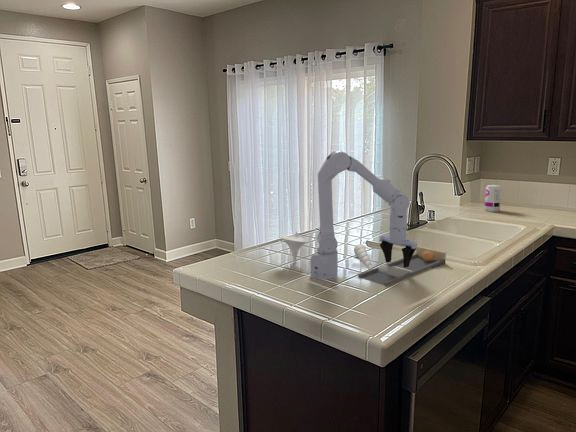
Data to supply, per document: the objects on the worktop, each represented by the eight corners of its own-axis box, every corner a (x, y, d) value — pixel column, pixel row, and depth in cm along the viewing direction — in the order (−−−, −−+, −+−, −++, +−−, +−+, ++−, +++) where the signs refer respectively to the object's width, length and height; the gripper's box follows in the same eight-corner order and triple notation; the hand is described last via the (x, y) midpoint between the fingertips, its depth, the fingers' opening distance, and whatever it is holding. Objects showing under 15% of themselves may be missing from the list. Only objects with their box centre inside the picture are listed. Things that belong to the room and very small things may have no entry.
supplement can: (485, 211, 256) (487, 186, 253) (483, 209, 264) (485, 184, 261) (500, 212, 254) (502, 186, 251) (498, 209, 262) (500, 184, 259)
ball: (436, 252, 165) (434, 260, 168) (426, 247, 168) (425, 255, 170) (430, 257, 163) (428, 265, 165) (420, 252, 166) (419, 260, 168)
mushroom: (295, 256, 180) (294, 227, 178) (313, 261, 172) (313, 232, 170) (275, 261, 174) (274, 232, 171) (294, 267, 166) (293, 237, 163)
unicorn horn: (362, 274, 158) (362, 261, 157) (353, 255, 181) (353, 243, 180) (375, 274, 158) (375, 261, 157) (365, 255, 181) (365, 243, 180)
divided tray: (386, 297, 144) (386, 274, 143) (358, 288, 153) (358, 266, 152) (444, 272, 167) (445, 252, 165) (417, 265, 176) (418, 246, 174)
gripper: (422, 228, 150) (421, 266, 153) (388, 222, 161) (387, 257, 164) (410, 232, 146) (409, 271, 149) (376, 225, 157) (375, 261, 160)
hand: (397, 264), depth 156 cm, fingers open, 7 cm apart
